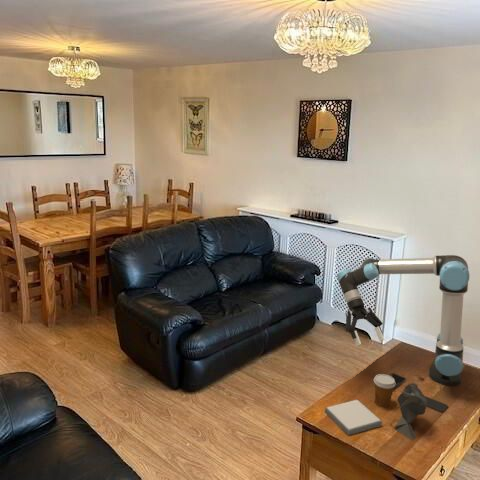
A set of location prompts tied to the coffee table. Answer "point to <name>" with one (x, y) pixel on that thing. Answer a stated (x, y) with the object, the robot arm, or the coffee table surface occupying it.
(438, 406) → the phone
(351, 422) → the plate
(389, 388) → the disposable coffee cup
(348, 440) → the coffee table surface
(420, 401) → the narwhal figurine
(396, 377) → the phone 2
